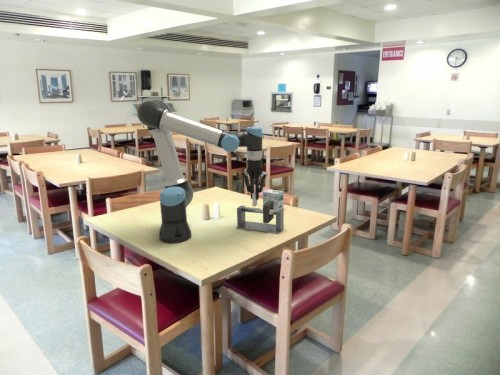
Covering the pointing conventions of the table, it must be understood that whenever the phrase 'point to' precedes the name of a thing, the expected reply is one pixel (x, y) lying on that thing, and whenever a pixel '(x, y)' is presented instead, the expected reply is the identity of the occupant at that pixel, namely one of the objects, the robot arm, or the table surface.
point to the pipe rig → (260, 226)
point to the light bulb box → (274, 198)
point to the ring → (266, 207)
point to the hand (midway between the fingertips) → (254, 205)
